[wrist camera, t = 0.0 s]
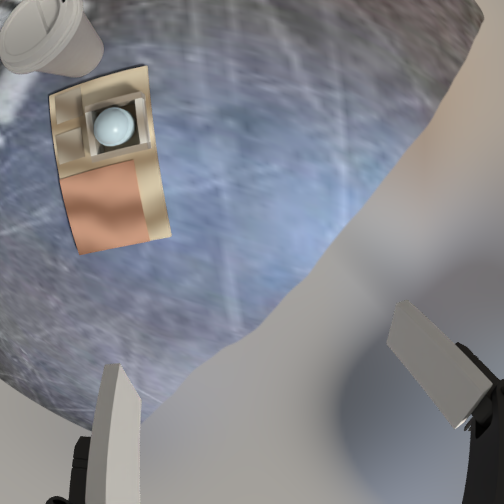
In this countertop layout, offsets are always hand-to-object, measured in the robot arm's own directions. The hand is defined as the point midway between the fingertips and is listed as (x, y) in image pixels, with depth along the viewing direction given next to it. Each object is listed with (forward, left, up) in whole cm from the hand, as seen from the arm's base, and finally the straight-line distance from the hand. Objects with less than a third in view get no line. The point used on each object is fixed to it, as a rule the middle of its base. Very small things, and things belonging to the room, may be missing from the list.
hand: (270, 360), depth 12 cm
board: (-8, -13, -28) cm, 32 cm away
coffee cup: (-24, -15, -28) cm, 40 cm away
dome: (-12, -10, -26) cm, 30 cm away
